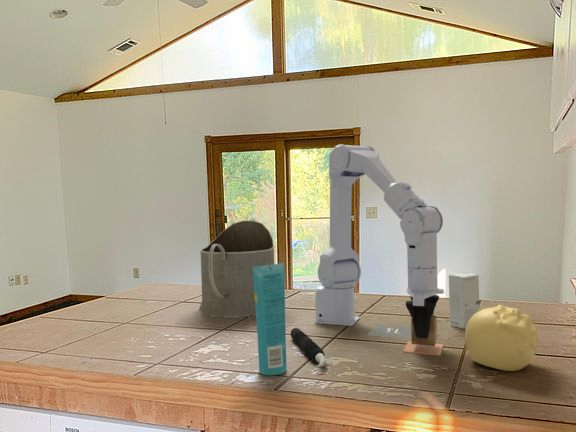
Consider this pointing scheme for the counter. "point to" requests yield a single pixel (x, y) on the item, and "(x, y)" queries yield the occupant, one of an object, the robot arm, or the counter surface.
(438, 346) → the pad
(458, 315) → the skincare box
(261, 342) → the tube
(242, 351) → the counter surface
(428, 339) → the walnut block
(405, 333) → the tile
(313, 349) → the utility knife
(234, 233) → the grey fabric basket
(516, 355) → the sculpture
